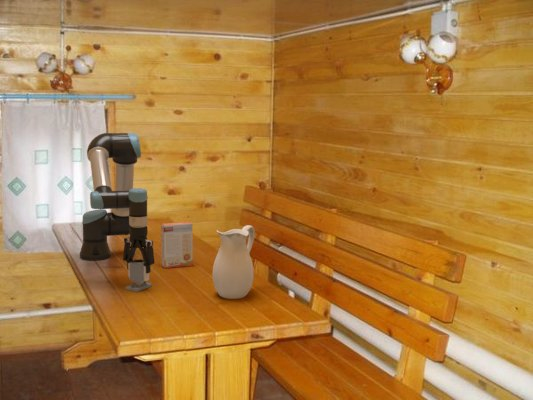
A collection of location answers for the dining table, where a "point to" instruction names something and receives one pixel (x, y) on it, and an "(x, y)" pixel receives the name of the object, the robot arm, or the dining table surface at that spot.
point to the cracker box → (177, 244)
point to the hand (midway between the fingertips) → (138, 278)
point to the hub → (137, 270)
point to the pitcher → (234, 263)
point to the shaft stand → (138, 286)
